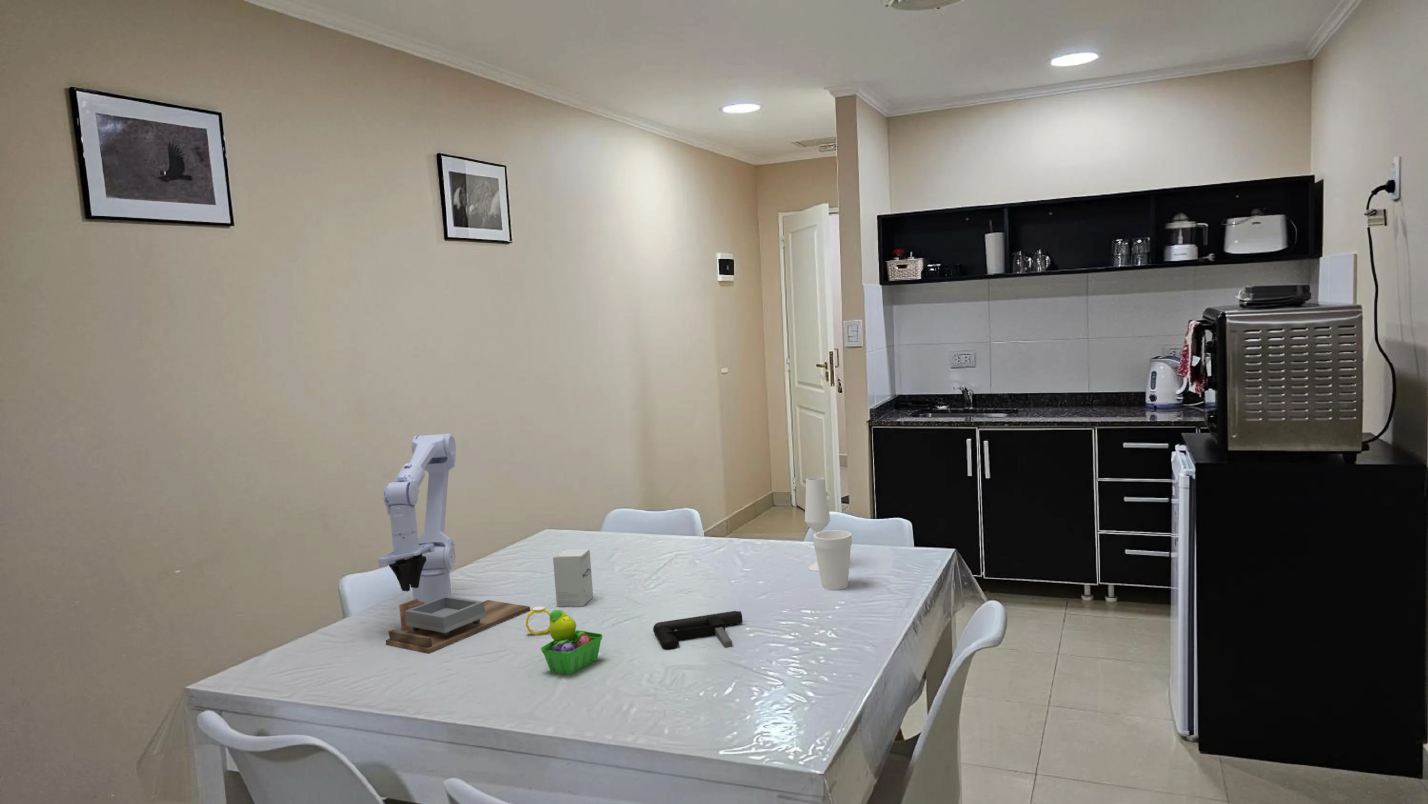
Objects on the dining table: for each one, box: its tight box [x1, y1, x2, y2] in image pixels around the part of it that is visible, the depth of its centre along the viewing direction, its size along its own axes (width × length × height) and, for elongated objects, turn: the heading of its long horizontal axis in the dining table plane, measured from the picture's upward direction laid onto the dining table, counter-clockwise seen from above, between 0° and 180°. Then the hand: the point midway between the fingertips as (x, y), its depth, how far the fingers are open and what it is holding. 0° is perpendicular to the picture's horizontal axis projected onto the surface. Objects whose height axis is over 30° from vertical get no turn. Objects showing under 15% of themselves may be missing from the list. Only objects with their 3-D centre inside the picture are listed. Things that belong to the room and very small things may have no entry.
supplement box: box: [552, 548, 594, 607], centre depth 232 cm, size 7×7×13 cm
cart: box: [405, 596, 485, 637], centre depth 215 cm, size 13×12×5 cm
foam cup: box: [812, 529, 853, 591], centre depth 230 cm, size 10×9×13 cm
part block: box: [398, 599, 424, 632], centre depth 220 cm, size 4×4×6 cm
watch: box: [525, 606, 551, 636], centre depth 210 cm, size 6×3×6 cm, turn 104°
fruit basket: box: [540, 609, 604, 675], centre depth 189 cm, size 11×9×11 cm
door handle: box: [652, 610, 744, 650], centre depth 200 cm, size 3×20×16 cm
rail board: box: [385, 599, 531, 654], centre depth 219 cm, size 14×31×3 cm, turn 147°
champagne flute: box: [804, 476, 831, 572], centre depth 247 cm, size 7×7×24 cm
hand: (410, 588), depth 219 cm, fingers closed
